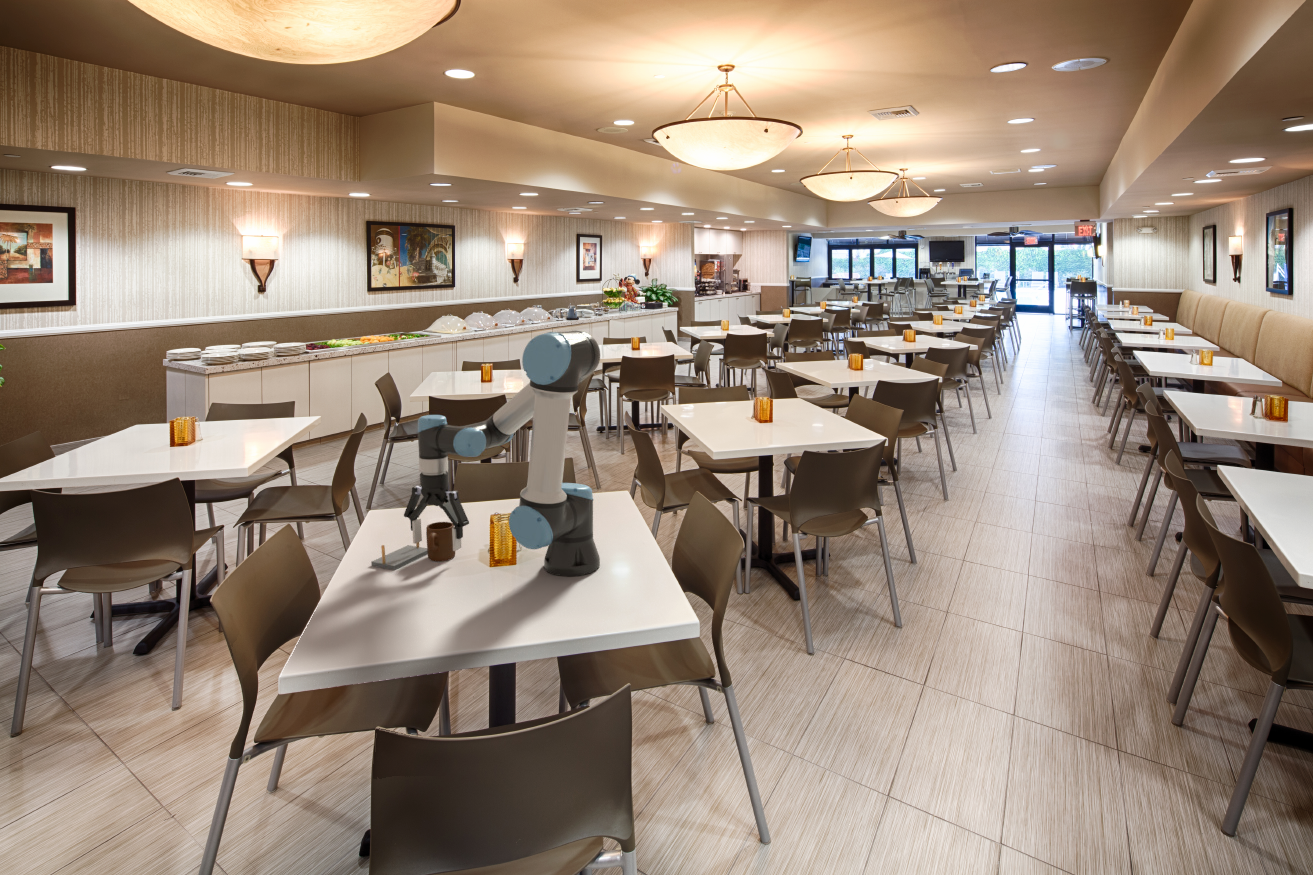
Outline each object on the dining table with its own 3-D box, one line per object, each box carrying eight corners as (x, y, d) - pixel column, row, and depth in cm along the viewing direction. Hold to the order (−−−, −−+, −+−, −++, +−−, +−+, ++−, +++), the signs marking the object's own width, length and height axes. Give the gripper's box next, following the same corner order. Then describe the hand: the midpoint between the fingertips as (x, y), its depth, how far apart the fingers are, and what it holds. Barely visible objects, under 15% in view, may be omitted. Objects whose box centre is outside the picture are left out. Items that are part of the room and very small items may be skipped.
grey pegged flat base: (430, 552, 210) (429, 532, 209) (394, 570, 197) (393, 548, 195) (408, 549, 213) (407, 528, 212) (371, 565, 200) (370, 544, 198)
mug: (444, 568, 198) (442, 535, 196) (417, 567, 199) (415, 534, 197) (459, 553, 210) (458, 521, 208) (433, 552, 210) (431, 521, 209)
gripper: (480, 473, 198) (482, 548, 202) (407, 463, 207) (410, 535, 212) (463, 480, 191) (465, 556, 196) (388, 469, 201) (392, 543, 205)
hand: (437, 545), depth 204 cm, fingers open, 13 cm apart
